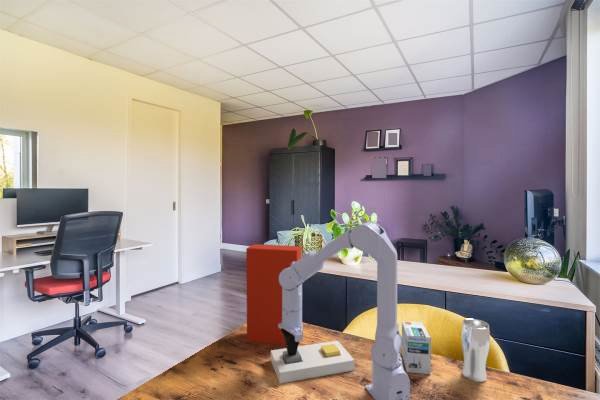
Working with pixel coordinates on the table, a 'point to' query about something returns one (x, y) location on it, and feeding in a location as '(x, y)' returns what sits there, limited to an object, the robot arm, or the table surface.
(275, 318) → the file binder
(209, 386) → the table surface
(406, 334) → the light bulb box
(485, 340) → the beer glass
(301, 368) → the board
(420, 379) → the table surface
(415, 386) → the table surface
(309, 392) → the table surface
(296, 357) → the graphite key
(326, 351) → the mustard key
